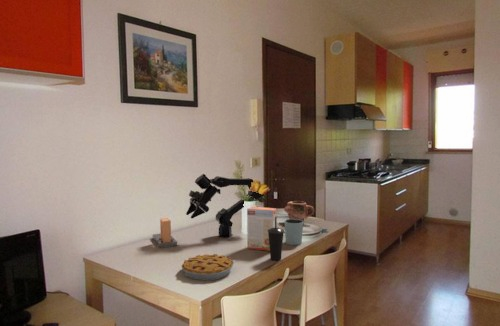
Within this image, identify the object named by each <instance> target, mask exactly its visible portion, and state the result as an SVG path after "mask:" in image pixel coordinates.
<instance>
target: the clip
mask: <svg viewBox="0 0 500 326" xmlns="http://www.w3.org/2000/svg"><path fill="white" fill-rule="evenodd" d="M159 220H160V221H159V222H160V223H159V224H160V225H159V227H160V228H159V229H160V234H161V240H163V243H167V242H171V236H172V225H171V220H170V218H169V217H165V218H160V219H159Z"/></svg>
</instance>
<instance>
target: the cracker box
mask: <svg viewBox="0 0 500 326" xmlns="http://www.w3.org/2000/svg"><path fill="white" fill-rule="evenodd" d="M246 211H247V212H246V217H247V219H246V220H247V221H246V222H247V225H246V229H247V230H246V232H247V234H246V235H247V249H248V250H257V251H268V252H270V246H269V236H268V229H271V228H274V227H275V217H277V208H275V207H259V206H250V207H247V209H246Z"/></svg>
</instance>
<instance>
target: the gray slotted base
mask: <svg viewBox="0 0 500 326" xmlns="http://www.w3.org/2000/svg"><path fill="white" fill-rule="evenodd" d="M152 239H153V240H154V243H155V244H156V245H157V246H158V248H159V249H162V248H169V247H177V246H178V241H177V240H176V239H175V238H174V237H173V236H172V235H171V242H167V243H163V240H161V233H156V234H152Z"/></svg>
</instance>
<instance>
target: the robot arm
mask: <svg viewBox="0 0 500 326" xmlns="http://www.w3.org/2000/svg"><path fill="white" fill-rule="evenodd" d="M253 181H254V179H252V178H250V177H249V178H248V177H247V178H236V177H235V178H232V177H231V178H229V177H225V176H215V177H213V178H210V179H209V178H208V177H207V175H206V174H205V173H202V174H200V176H198V177H197V178H196V179H195V181H194V183H195V185H197V186H198V187H199V188H200V189H201V190H204V191H203V192H200V191H197V190H196V191H194V190H190V192H189V194H188V196H189V197H190V199H189V207H188V209H187V211H186V213H185V215H186V216H189V215H190V214H191V216H190V219H195V218H196V217H198V216H199V217H200V216H201V215H203V214H206V213H208V212H209V211H210V207H209V206H208V205H207V204H208V203H209V202H212V198H213V197H214V196H215V195H216V194H219V195H221V188H226V187H229V186H230V187H231V186H247V187H248V189H249V191H248V193H247V194H246V196H248V195H249V196H253V197H254V198H255V199H257V200H259V199H261V198H263V197H264V196H265V193H264V194H263V195H261V194H259V193H256V192H252V191H250V187H251V182H253ZM243 204H244V200H242V198H241V199H239V200H238V201H237V202H235V203H234V204H233V205H231V206H230V207H229V208H227V209H226V208H221V209H220V210H219V211H217V213H216V214H215V220H216V222H218V224H219V225H218V226H219V227H218V235H217V237H219V238H226V239H228V238H231V237H232V236H233V233H232V227H233V222H232V221H231V220H232V218H233V216H234V215H236V214H237V213H238V212H239V211H240V210H242V209H244V208H245V207H244V206H243Z"/></svg>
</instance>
